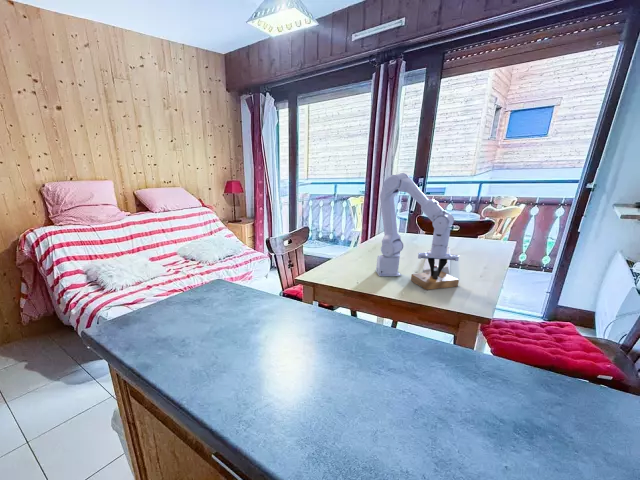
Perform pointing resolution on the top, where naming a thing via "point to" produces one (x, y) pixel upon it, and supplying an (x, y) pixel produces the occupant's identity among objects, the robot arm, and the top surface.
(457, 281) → the panel
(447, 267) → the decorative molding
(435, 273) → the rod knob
